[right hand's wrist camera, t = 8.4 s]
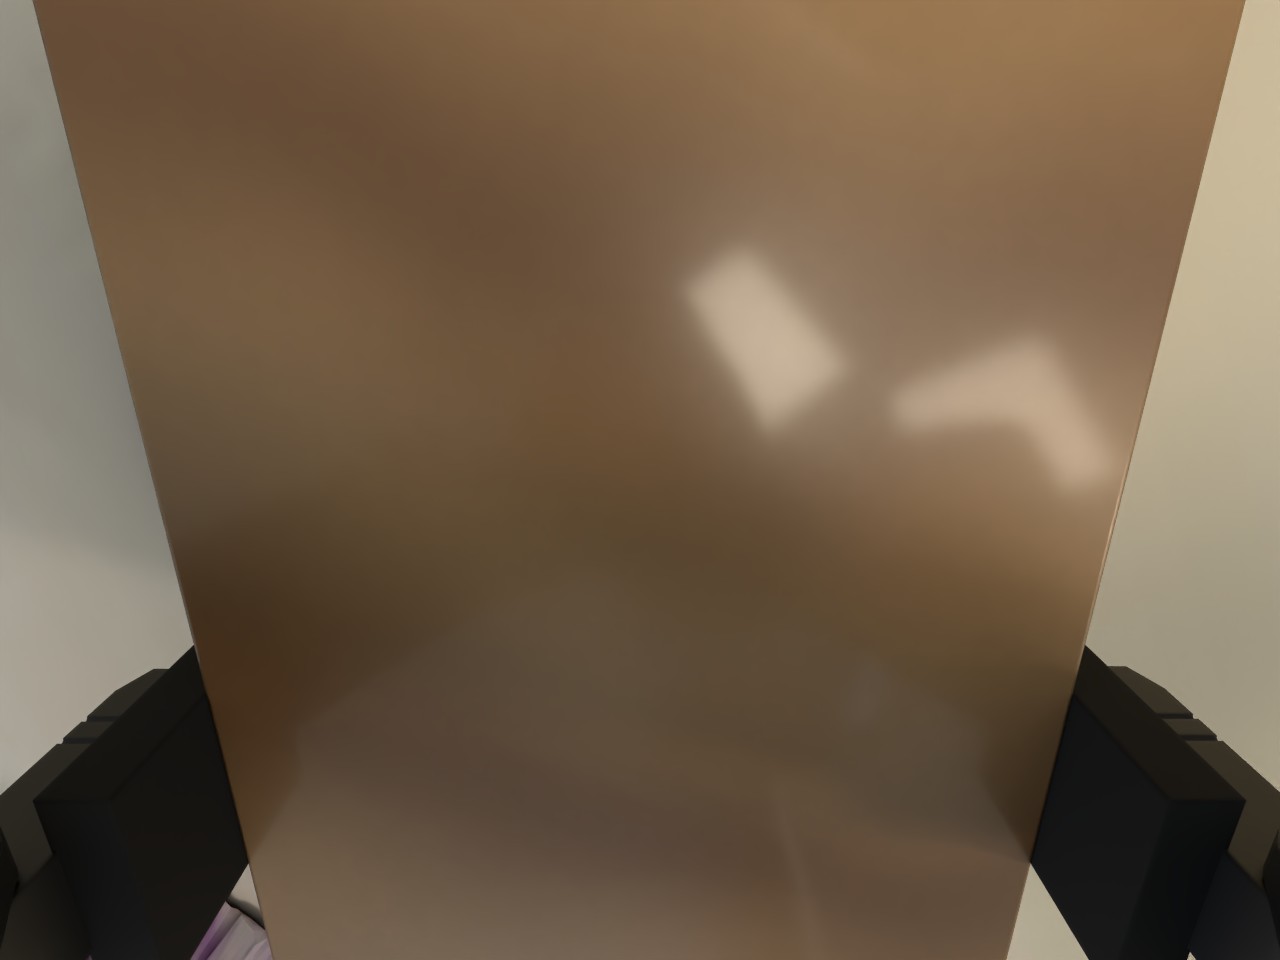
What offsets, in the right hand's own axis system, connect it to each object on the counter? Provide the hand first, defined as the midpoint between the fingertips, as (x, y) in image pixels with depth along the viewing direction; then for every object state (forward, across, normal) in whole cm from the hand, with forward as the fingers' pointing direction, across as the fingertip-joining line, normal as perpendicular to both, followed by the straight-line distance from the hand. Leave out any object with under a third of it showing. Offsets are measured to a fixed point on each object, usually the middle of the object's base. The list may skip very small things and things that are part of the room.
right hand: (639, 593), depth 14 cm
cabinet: (+3, 0, -7) cm, 8 cm away
